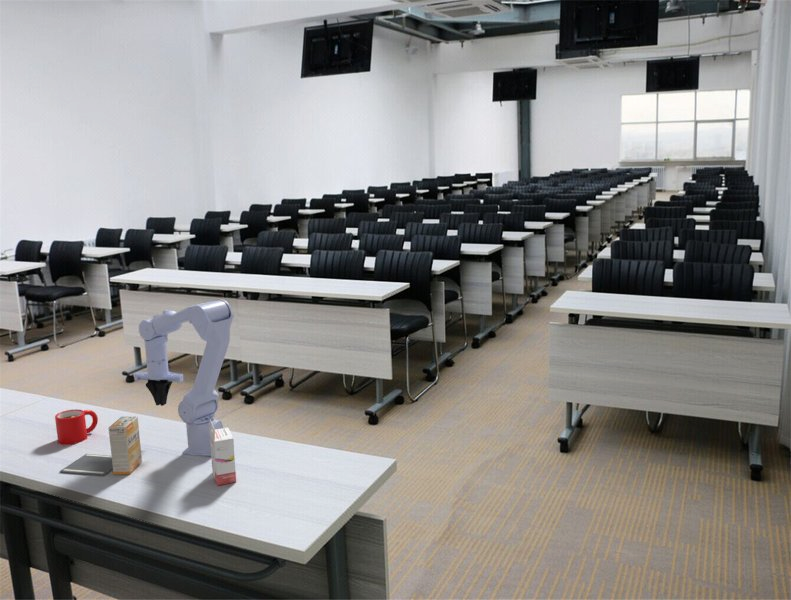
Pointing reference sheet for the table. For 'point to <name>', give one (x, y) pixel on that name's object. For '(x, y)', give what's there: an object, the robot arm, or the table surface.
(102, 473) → the mat
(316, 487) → the table surface
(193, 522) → the table surface
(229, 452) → the ink cartridge box
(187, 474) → the table surface
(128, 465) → the supplement box
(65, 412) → the mug
